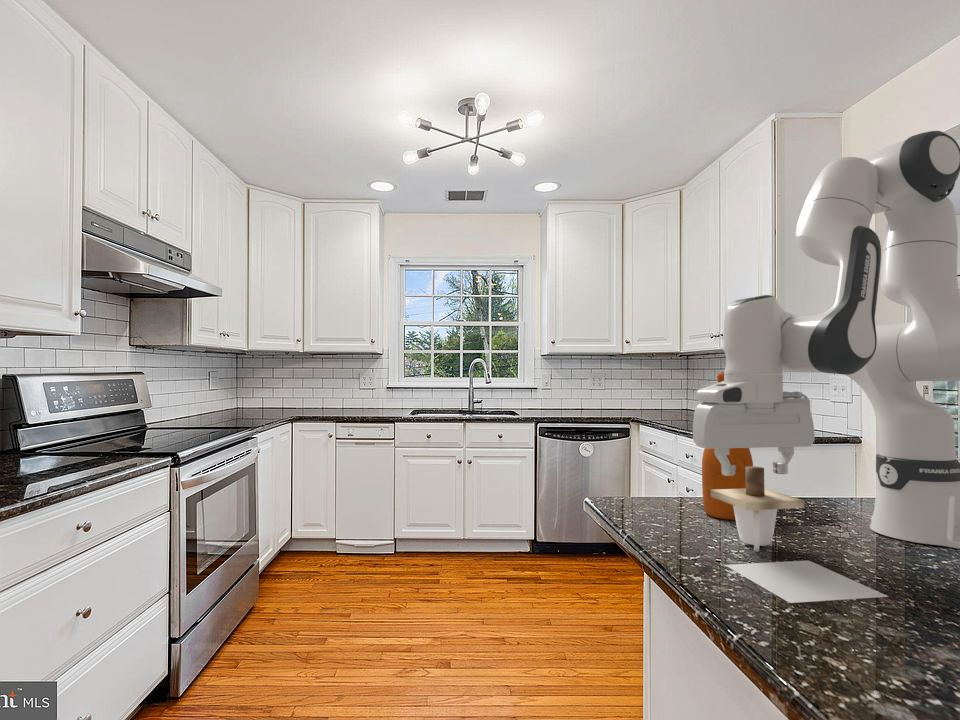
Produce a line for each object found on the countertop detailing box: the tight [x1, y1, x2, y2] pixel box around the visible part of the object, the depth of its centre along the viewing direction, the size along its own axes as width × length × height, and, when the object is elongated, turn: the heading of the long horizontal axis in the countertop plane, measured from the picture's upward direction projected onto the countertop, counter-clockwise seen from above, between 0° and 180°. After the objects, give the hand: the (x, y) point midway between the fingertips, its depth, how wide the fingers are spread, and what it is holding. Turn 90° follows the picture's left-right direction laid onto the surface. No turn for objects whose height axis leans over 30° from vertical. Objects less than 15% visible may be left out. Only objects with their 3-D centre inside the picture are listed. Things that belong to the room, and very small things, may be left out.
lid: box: [711, 465, 805, 510], centre depth 91 cm, size 10×10×6 cm
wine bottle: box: [701, 371, 754, 521], centre depth 114 cm, size 10×10×30 cm
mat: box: [724, 559, 889, 604], centre depth 76 cm, size 14×14×1 cm
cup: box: [733, 505, 778, 553], centre depth 90 cm, size 7×10×8 cm
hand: (754, 474), depth 91 cm, fingers open, 8 cm apart
